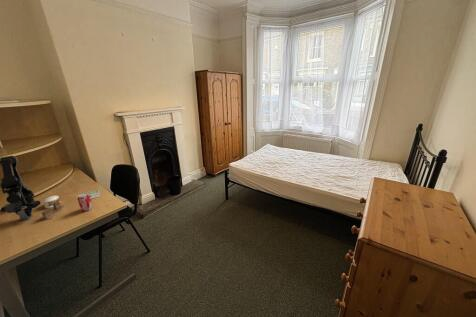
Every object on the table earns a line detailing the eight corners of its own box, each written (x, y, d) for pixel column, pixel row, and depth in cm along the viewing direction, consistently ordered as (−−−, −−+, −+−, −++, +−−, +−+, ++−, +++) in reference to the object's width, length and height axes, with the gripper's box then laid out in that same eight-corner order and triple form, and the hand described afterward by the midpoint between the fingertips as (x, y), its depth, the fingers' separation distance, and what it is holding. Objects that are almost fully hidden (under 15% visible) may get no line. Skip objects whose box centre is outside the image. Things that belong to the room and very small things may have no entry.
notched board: (40, 220, 131) (37, 213, 129) (55, 207, 145) (53, 200, 143) (51, 219, 132) (48, 212, 130) (65, 205, 147) (62, 199, 145)
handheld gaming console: (84, 199, 152) (84, 192, 164) (85, 201, 153) (84, 194, 164) (99, 195, 158) (98, 188, 169) (100, 197, 159) (98, 190, 170)
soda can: (95, 207, 144) (90, 193, 140) (84, 213, 138) (80, 198, 134) (89, 205, 147) (85, 191, 143) (79, 210, 141) (74, 196, 137)
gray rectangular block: (21, 220, 131) (16, 212, 128) (25, 217, 134) (21, 208, 132) (28, 219, 132) (24, 211, 129) (32, 216, 135) (28, 207, 133)
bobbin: (42, 209, 143) (39, 202, 141) (50, 202, 151) (47, 196, 149) (56, 207, 145) (53, 201, 143) (63, 201, 153) (61, 194, 151)
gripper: (-13, 205, 118) (-2, 226, 123) (24, 201, 122) (33, 221, 127) (3, 196, 128) (13, 215, 133) (37, 192, 132) (45, 211, 137)
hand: (26, 216), depth 133 cm, fingers closed on gray rectangular block, 4 cm apart
